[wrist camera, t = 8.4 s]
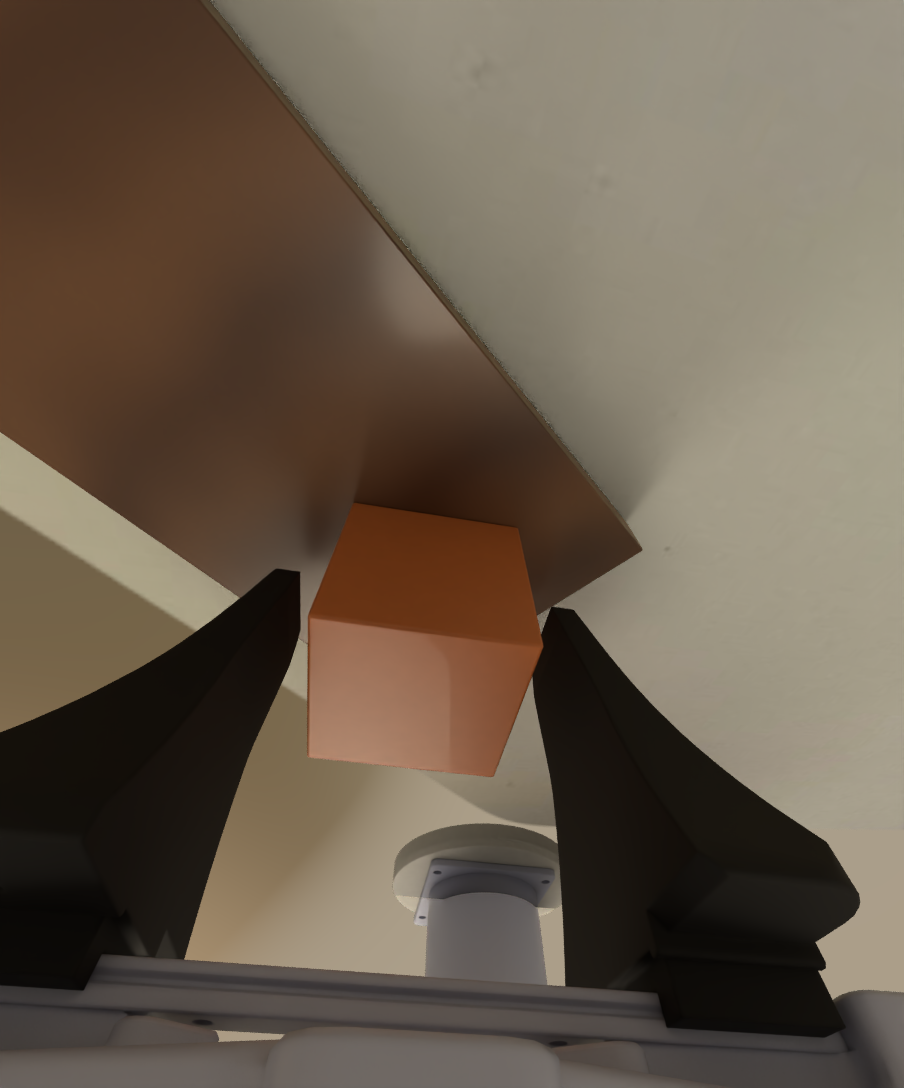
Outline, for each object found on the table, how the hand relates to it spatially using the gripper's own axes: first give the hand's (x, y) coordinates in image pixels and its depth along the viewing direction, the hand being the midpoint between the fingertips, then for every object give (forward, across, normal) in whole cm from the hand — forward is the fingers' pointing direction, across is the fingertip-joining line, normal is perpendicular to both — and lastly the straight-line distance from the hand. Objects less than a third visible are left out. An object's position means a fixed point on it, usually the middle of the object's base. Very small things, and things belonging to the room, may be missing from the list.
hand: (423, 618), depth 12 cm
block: (+2, 0, 0) cm, 2 cm away
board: (+3, +5, -4) cm, 7 cm away
